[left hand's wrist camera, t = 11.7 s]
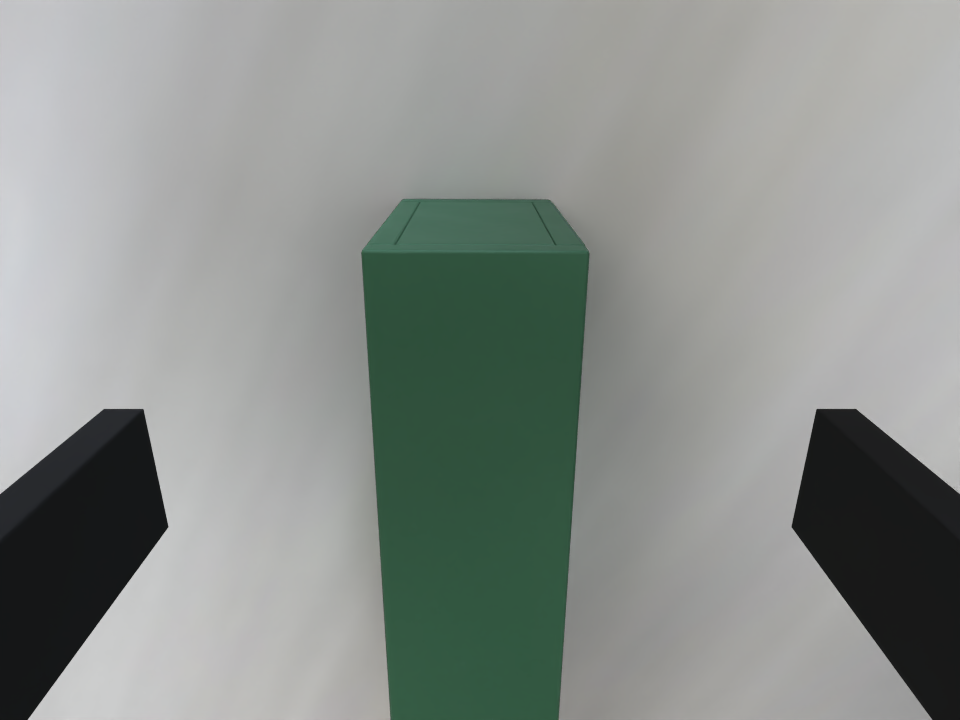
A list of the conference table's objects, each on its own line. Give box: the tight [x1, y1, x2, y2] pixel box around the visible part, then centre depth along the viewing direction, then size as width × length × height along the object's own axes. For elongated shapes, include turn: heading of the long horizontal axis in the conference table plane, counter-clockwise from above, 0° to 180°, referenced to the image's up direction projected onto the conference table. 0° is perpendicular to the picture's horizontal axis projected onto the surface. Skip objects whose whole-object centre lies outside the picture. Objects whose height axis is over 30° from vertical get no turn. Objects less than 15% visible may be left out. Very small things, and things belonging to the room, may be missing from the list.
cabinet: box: [361, 199, 589, 720], centre depth 25 cm, size 19×6×10 cm, turn 0°
